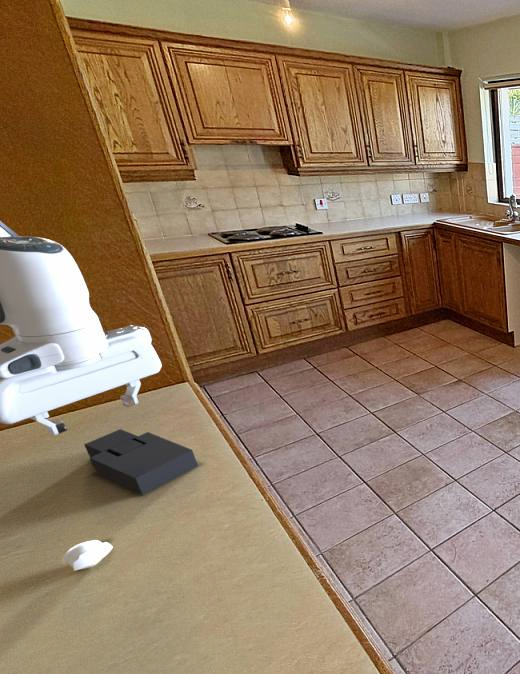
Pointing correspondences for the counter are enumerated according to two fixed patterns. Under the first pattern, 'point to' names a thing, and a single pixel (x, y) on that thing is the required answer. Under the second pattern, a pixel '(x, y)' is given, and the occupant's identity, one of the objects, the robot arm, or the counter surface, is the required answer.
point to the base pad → (145, 464)
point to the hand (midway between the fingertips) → (96, 417)
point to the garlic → (86, 554)
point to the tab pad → (113, 443)
